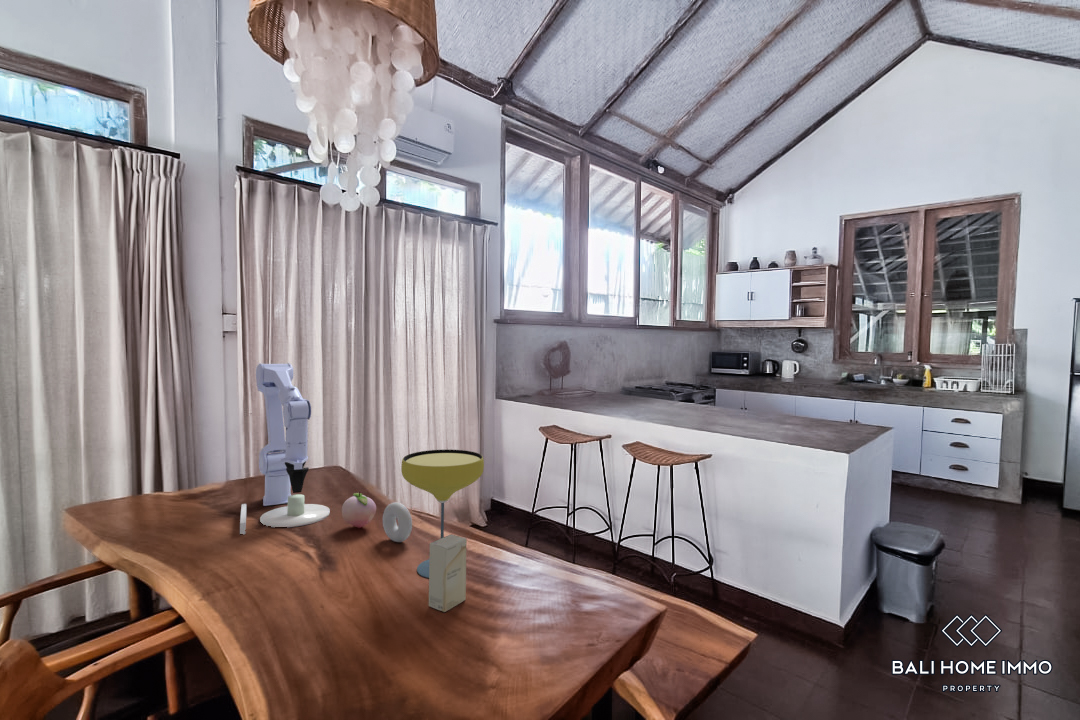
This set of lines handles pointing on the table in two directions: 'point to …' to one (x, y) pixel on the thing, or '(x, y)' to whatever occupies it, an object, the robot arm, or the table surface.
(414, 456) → the cocktail glass
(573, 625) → the table surface
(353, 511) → the decorative fruit
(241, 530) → the light grey rectangular bar
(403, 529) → the donut
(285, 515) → the white plate
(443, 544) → the skincare box
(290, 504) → the green cylinder
